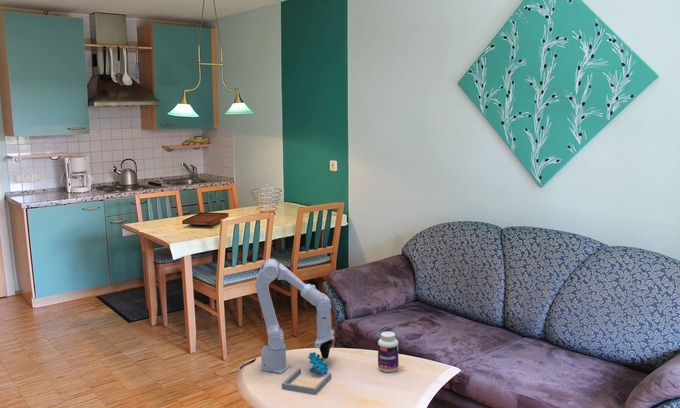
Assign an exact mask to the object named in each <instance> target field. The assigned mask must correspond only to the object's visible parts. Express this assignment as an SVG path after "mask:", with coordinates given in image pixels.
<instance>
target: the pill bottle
mask: <svg viewBox="0 0 680 408" xmlns="http://www.w3.org/2000/svg"><path fill="white" fill-rule="evenodd" d="M399 365H400V364H399V340H398V339H397V338H396V333H395V332H393V331H383V332H381V334H380V338H379V340H378V341H377V367H378V369H379V370H380V371H381V372H384V373H393V372H396V371H397V370H398V369H399Z"/></svg>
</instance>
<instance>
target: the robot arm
mask: <svg viewBox="0 0 680 408" xmlns="http://www.w3.org/2000/svg"><path fill="white" fill-rule="evenodd" d="M276 279H277V281H281V280H283V281H284V280H285V282H287V283H289V284H290V285H292V286H293V287H294V288H296V289H297V290H298V291H300V296H301V297H302V298H304V299H305V300H306V301H307V302H309V303H310V305H312V306H315V308H316V333H317V334H316V339H315V342H314V348H317V349H319V351H320V356H321V358H322V357H324V360H327V359H329V357H330V356H329V355H330V351H331V348H332V345H333V342H334V340H335V336H334V335H335V330H333V329H332V314H331V312H332V311H331V310H332V305H331V304H332V303H331V299H330V298H329V296H328V295H327V294H325V293H324V292H321V291H320V290H318V289H317V288H316V285H315V284H311V283H305V282H303V280H301V279H300V278H299V277H298V276H296V274H294V273H293V272H292V271H291V270H289V268H288V267H287V266H285V265H284V264H282V263H281V262H278V260H277V259H275V258H268V259H266V260H265V261H264V262H263V263H262V265H261V266H260V268H259V271H258V274H257V277H256V280H255V283H254V286H255V290H256V291H255V292H256V294H257V297H258V298H257V299H258V301H259V304H260V305H259V306H260V308H261V312H262V316H263V319H264V321H265V322H264V323H265V326H266V332H267V337H268V340H267V344H266V345H263V347H262V348H261V353H260V355H261V356H260V359H261V360H260V361H261V368H260V370H261V371H265V372H272V373H277V374H283V373H284V372H285V371H286V370H287V369H289V367H291V364H290V363H287V352H286V351H287V349H286V344H285V339H284V338H285V337H284V336H285V332H284V329H282V328H281V326H280V324H279V321H278V319H277V315H276V314H277V313H276V310H275V308H274V303H273V300H272V297H271V293H270V289H269V285H270V284H271V283H272V282H273V281H274V280H276Z"/></svg>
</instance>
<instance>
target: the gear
mask: <svg viewBox="0 0 680 408" xmlns="http://www.w3.org/2000/svg"><path fill="white" fill-rule="evenodd" d="M308 354H309V355H308V357H307V358H308V359H309V360H308V361H309V364H312V365H311V368H310V369H309V372H310V373H312V371H314V370H315V369H316V372H317V373H320V374H322V375H324V374H325V375H327V374H328V373H329V372H328V371H329V367H328V363H327V362H325V359H324V357H322V356H321V354H319V353H318V354H317V352H315V351H313V352H309V353H308Z"/></svg>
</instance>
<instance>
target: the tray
mask: <svg viewBox="0 0 680 408" xmlns="http://www.w3.org/2000/svg"><path fill="white" fill-rule="evenodd" d="M301 374H302V369H301V367H299V368H297V369H295V371H294V372H293V373H292V374H291V375H289V376H288V377H287V378H285V380H284V381H283V382H281V389H282V390H287V391H293V392H298V393H305V394H309V395H310V394H311V395H315V396H316V395H317V394H318V393H319V392H320V391H321V390H322V389H323V388H324V387H325V386H326V385H327V384H328V383H329V381H331V379H332V373H330V372H327V373H326V374H325V376H324V378H322V380H321V381H319V382H318V384H316V386H315V387H311V386H307V385H306V386H305V385H299V384H294V383H292V382H294V381H295V379H297V378H298V377H299V376H300V375H301Z"/></svg>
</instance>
